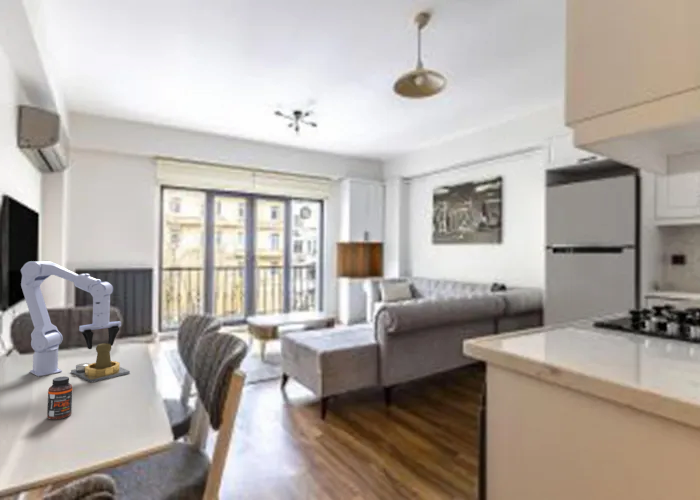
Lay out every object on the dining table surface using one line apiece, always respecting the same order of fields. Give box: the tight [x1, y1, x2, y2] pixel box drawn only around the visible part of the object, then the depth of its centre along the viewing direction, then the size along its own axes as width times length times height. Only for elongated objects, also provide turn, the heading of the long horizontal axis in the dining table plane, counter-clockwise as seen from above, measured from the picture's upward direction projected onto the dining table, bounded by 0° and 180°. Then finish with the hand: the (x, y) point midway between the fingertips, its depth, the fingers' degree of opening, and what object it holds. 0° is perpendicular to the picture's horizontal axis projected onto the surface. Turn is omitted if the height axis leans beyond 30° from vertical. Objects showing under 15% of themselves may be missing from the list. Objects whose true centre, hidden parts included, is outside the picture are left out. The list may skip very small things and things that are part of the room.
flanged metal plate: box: [70, 360, 131, 383], centre depth 160 cm, size 18×14×4 cm
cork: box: [95, 342, 112, 369], centre depth 159 cm, size 6×6×11 cm
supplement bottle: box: [46, 375, 73, 420], centre depth 120 cm, size 6×6×11 cm
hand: (100, 346), depth 160 cm, fingers open, 7 cm apart
